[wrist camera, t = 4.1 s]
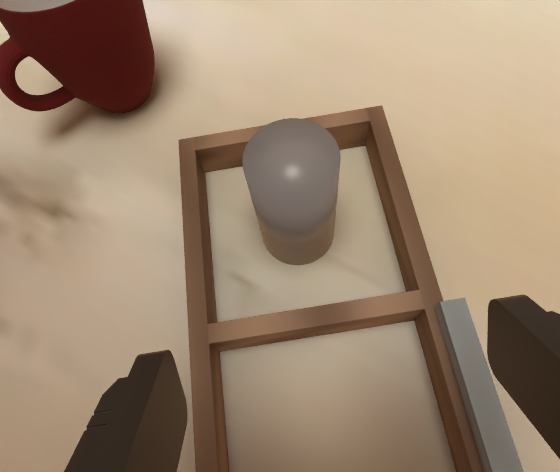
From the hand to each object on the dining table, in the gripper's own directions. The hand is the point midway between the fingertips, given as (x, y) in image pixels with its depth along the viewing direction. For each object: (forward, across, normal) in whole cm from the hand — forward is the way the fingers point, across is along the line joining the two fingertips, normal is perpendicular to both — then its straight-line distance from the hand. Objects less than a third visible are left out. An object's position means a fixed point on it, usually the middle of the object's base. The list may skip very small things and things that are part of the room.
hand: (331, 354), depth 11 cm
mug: (+25, +12, -6) cm, 29 cm away
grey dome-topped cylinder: (+16, 0, +2) cm, 16 cm away
